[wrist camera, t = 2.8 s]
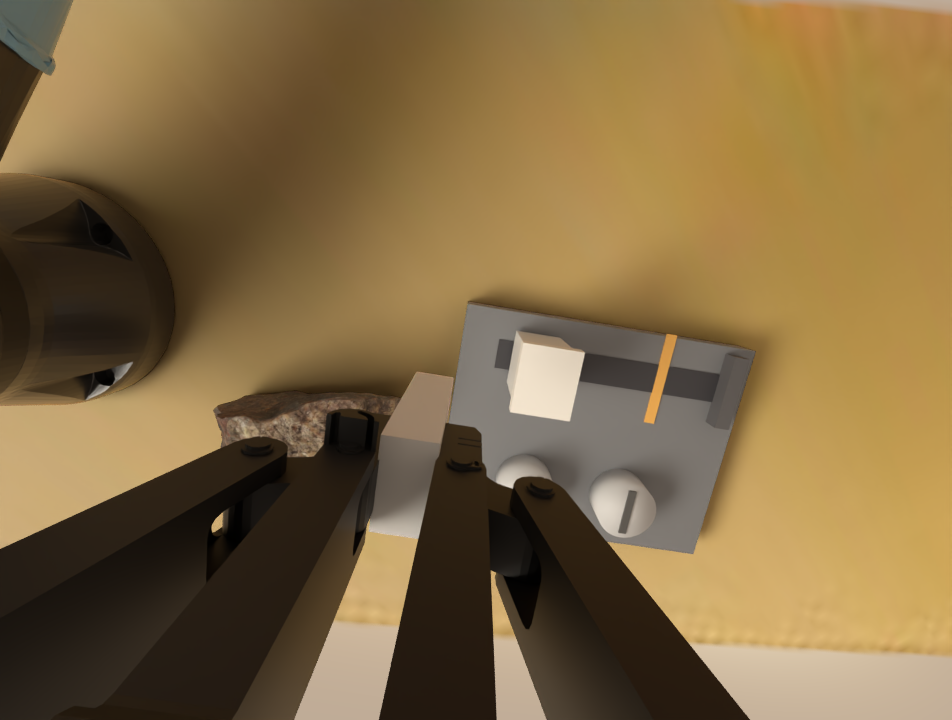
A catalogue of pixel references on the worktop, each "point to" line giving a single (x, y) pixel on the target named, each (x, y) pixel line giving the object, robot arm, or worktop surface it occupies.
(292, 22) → the worktop surface
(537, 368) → the fader tab
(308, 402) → the rock
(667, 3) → the worktop surface
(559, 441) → the console
